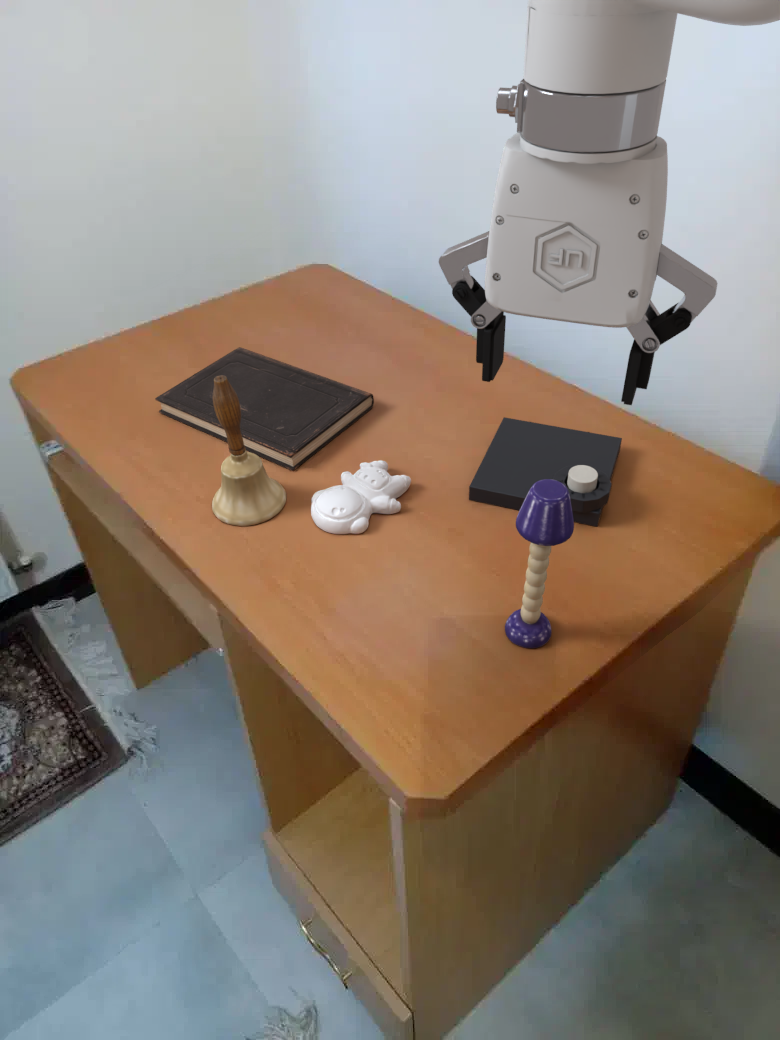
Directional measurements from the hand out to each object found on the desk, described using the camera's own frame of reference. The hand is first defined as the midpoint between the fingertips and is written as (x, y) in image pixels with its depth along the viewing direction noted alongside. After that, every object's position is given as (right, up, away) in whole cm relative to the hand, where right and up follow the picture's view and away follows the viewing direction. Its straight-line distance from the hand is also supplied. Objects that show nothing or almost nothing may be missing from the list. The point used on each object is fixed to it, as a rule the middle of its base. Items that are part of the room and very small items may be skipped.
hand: (559, 382), depth 55 cm
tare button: (+8, -6, +28) cm, 30 cm away
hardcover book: (-28, +4, +47) cm, 55 cm away
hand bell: (-27, -8, +33) cm, 44 cm away
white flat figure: (-15, -8, +32) cm, 36 cm away
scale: (+6, -4, +34) cm, 35 cm away
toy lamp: (+1, -20, +17) cm, 26 cm away
